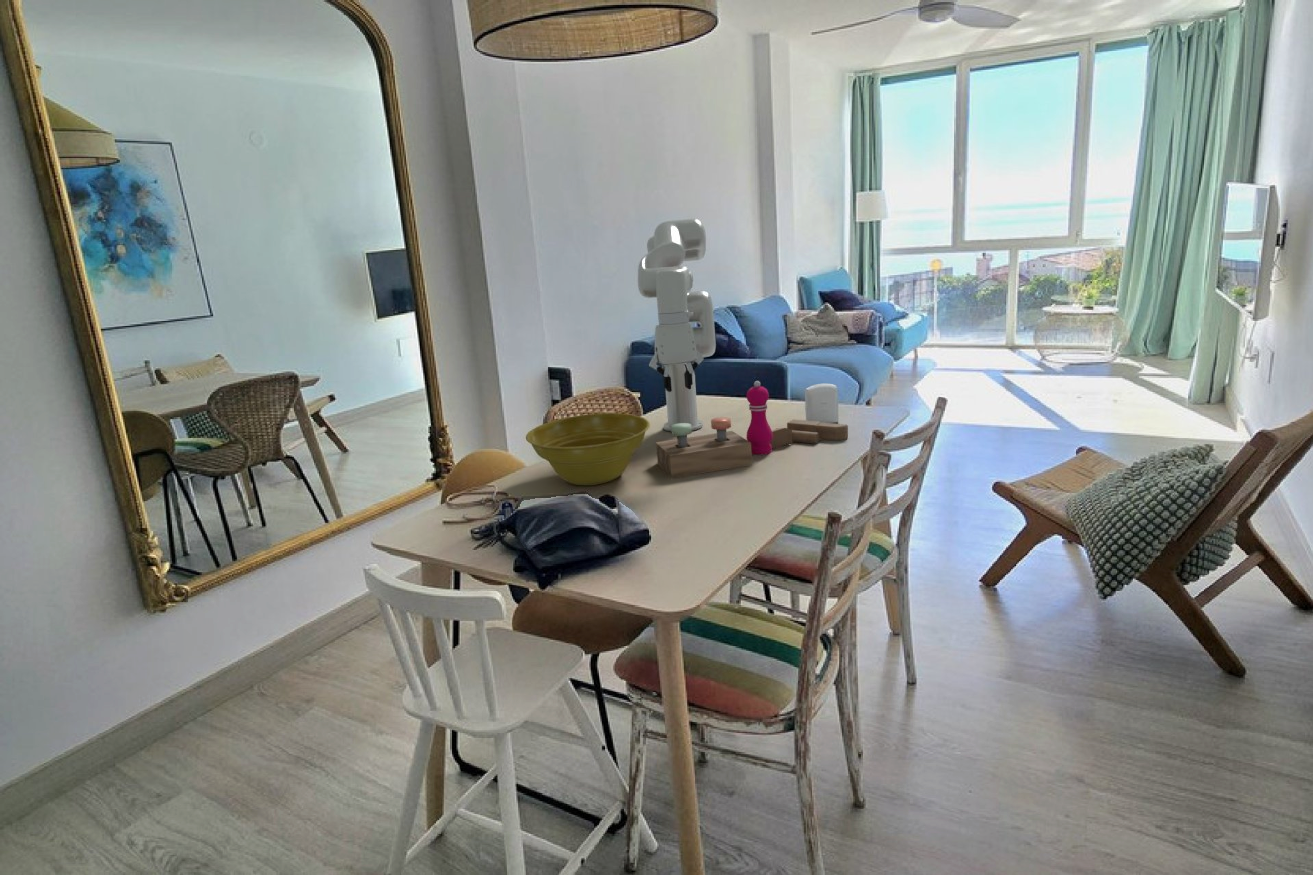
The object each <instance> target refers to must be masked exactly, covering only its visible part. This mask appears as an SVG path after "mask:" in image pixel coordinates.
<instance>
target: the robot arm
mask: <svg viewBox="0 0 1313 875" xmlns="http://www.w3.org/2000/svg"><path fill="white" fill-rule="evenodd" d="M706 245H707V236H706V229H705V226H704V225H703V223H702V222H701V221H700V220H699V219H695V218H692V219H691V218H690V219H689V218H688V219H677V220H667V221H663V222H661V223H659V224H657V226H656V228H655V230H654V233H653V235H652V236H651V237H649V238H648V240H647V243H646V249H647V253H646V254H645V255H643V257H642V258H641V259H640V261H639V263H638V266H637V267H638V268H637V287H638V292H639V293H640V294H641V296H642V297H643V298H648V299H652V298H653V299H655V298H656V304H657V318H658V325H655V329H654V355H653V357H652V358H651V359H650V361H649V363H648V366H649V367H650V368H652V369H654V370H655V371H656V372H658V373H659V374H660V375H661V376H662V378H663V388H664V389H665V398H666V399H665V400H666V410H667V412H666V413H667V421H666V422H665V423H663V429H664V430H665V431H668V432H671V433H672V428H671V426H672V425H674V424H678V423H689V424H691V430H692V431H695V430H699V429H701V428H703V427H704V422H703V420H700V419H699V418H698V403H697V391H696V390H697V389H696V374H695V370H696V369H697V367H698V366H699V365H700V364H701V363H702V362H703V361H704V358H707V357H711V356H713V355H714V354H715V352H716V347H717V344H716V330H715V318H714V317H715V316H714V305H713V300H712V297H711V295H710V293H708V291H704V290H692V289H693V286H694V276H693V272H692V271H690V269H689V267H687V266H684V265H682V264H683V263H684V262H691V261H693V262H694V261H700V260H702V259H703V258H704V257H705V255H706V251H707V249H706V248H707V247H706ZM692 323H697V324H698V325H699V326H692ZM657 363H658V364H660V365H661V366H662V367H661V366H659V365H657Z"/></svg>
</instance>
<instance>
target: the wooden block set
mask: <svg viewBox="0 0 1313 875" xmlns="http://www.w3.org/2000/svg"><path fill="white" fill-rule="evenodd" d="M772 434H773V439H772V440H771V442H770V443H769V444H771V447H772V448H778V447H777V446H780V447H786V446H790V445H789V444H792V445H793V443H794V442H795V443H803V442H804V443H805V444H813V445H815V444H819V442H820V440H823V441H833V440H834V441H835V442H836V441H837V440H838V441H842V440H843V441H845V440H847V439H848V437H849V426H848V425H847V424H844V423H822V422H819V421H807V420H806V419H805V420H804V419H792V420H790V421H788V422H787V423H786V427H779V428H774V429H773V430H772ZM785 445H786V446H785Z"/></svg>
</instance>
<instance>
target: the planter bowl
mask: <svg viewBox="0 0 1313 875" xmlns="http://www.w3.org/2000/svg"><path fill="white" fill-rule="evenodd" d="M650 427H651V422H650V421H649V420H648V419H647V418H644V417H643V416H642V417H641V416H639V415H634V414H629V413H619V412H617V413H616V412H614V413H613V412H610V413H609V412H608V413H607V412H606V413H605V412H602V413H589V414H582V415H575V416H570V417H564V418H560V419H556V420H552V421H548V422H545V423H542V424H541V425H539V426H535V427H534V428H533V429H531V430H530V431H528V432H527V433H526V435H525V441H527V442H528V443H529V444H531V446H532V448H533V450H534V451H535V453H536V454H537V455H538V457H540V458H542V459H544V460H545V461H547V462H548V463H549V465H550V466H551V467H552V469H553V470H554V471H555V473H556V474H557V475H558V477H560V478H561V479H562V480H563V481H565V482H567V483H569V484H572V485H577V486H594V485H601V484H605V483H608V482H609V483H610V482H612V481H614V480H615V479H618V477H619V476H621V475H622V474H623V473H624V472H625V471H626V469H627V467H628V465H629V464H630V460H631V459H632V455H633V454H634V453H633V452H634V451H635V450H637V448H639V447H640V446H641V445H642V443H643V441H644V438H645V435H646V432H647V431H648V430H649V428H650Z"/></svg>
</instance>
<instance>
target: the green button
mask: <svg viewBox="0 0 1313 875" xmlns="http://www.w3.org/2000/svg"><path fill="white" fill-rule="evenodd" d="M671 428H672V432H671V435H673V436H676V439H677V441H678V448H684V447H688V443H687V438H688V435H691V434H692V430H691V424H689V423H678V424H674V425H672V426H671Z"/></svg>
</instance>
